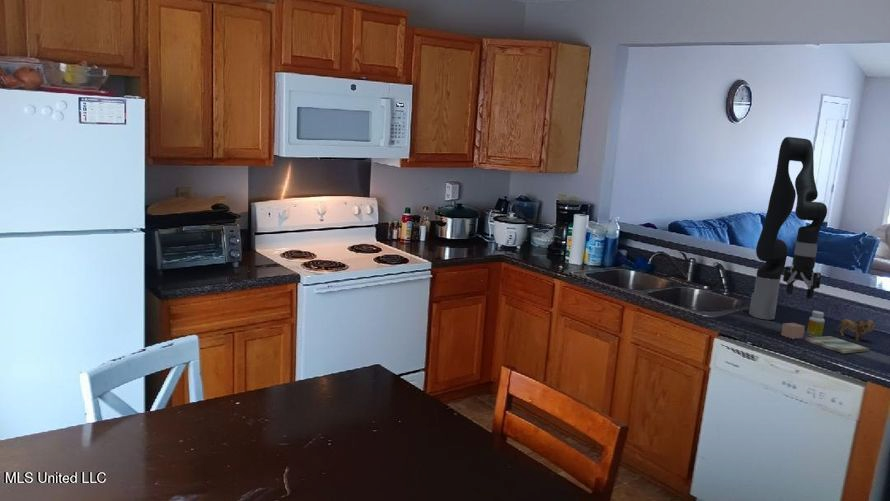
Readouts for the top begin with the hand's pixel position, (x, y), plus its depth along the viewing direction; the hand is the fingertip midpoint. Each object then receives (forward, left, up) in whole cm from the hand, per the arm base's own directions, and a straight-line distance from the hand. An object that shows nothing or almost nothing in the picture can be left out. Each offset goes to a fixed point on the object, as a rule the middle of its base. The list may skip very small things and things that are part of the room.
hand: (799, 296), depth 272 cm
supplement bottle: (+1, +11, -16) cm, 20 cm away
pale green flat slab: (+13, +8, -16) cm, 22 cm away
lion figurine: (+6, +26, -16) cm, 31 cm away
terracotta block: (0, 0, -16) cm, 16 cm away
